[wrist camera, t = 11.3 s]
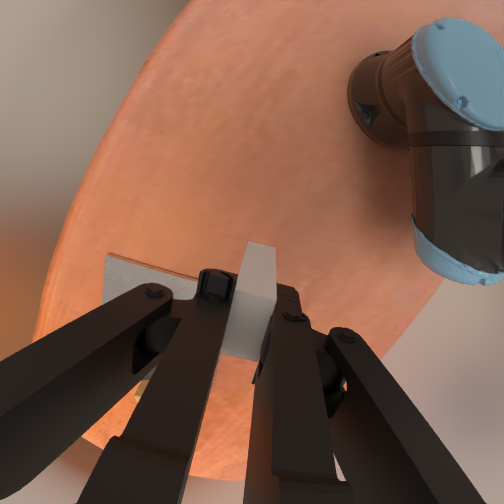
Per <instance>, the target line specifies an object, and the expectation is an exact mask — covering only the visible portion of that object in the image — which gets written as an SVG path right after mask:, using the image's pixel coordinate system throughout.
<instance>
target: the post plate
mask: <svg viewBox="0 0 504 504" xmlns="http://www.w3.org/2000/svg"><path fill="white" fill-rule="evenodd" d="M144 283H159V284H161V285H164V286H166V287H168V288H170V289H171V290H172V292H173V299H179V300H189V299H193V297H194V295H195V294H196V290H197V284H198V279H196V278H192V277H189V276H185V275H181V274H178V273H174V272H171V271H168V270H164V269H161V268H157V267H154V266H150V265H147V264H144V263H140V262H137V261H134V260H130V259H127V258H124V257H120V256H117V255H114V254H111V253H108V254H107V255H106V260H105V270H104V283H103V298H102V305H103V304H105V303H107V302H109V301H110V300H112V299H114V298H116V297H118V296H120V295H122V294H123V293H125V292H127V291H129V290H131V289H133V288H135V287H137V286H139V285H141V284H144ZM220 354H221V353H220ZM220 354H219V358H220ZM218 362H219V359H218ZM217 365H218V363H217ZM216 369H217V366H216ZM215 373H216V370H215ZM214 376H215V374H214ZM213 380H214V378H213ZM212 384H213V382H212ZM211 387H212V386H211ZM210 391H211V389H210ZM209 395H210V393H209Z"/></svg>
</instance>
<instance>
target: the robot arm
mask: <svg viewBox="0 0 504 504" xmlns="http://www.w3.org/2000/svg"><path fill="white" fill-rule="evenodd" d="M348 102H349V106H350V109H351V112H352V114H353V117H354V119H355V120H356V122H357V123H358V125H359V126H360V128H361V129H362V130H363V131H364V132H365V133H366V134H367V135H368V136H369V137H370V138H372V139H373V140H375V141H376V142H378V143H380V144H382V145H384V146H387V147H391V148H397V149H405V148H409V155H410V167H411V181H412V202H413V214H412V225H413V227H414V245H415V250H416V253H417V255H418V256H419V258H420V259H421V261H422V263H423V264H424V265H425V266H427V267H428V268H429V269H430V270H432V271H433V272H435V273H436V274H438V275H440V276H442V277H445V278H447V279H449V280H452V281H455V282H458V283H462V284H468V285H476V284H477V283H479V284H482V285H484V286H486V285H493V284H496V283H497V282H500V281H501V280H502V279H503V278H504V49H503V47H502V46H501V45H500V44H498V43H497V42H496V41H495V40H494V39H493V37H492V36H491V35H490V34H489V33H488V32H486V31H485V30H484V29H482V28H481V27H479V26H477V25H476V24H474V23H472V22H469V21H467V20H464V19H460V18H453V17H448V18H441V19H438V20H436V21H434V22H432V23H430V24H428V25H427V26H423V27H421V28H420V29H418V30H417V31H416V32H415V34H414V35H413V36H411V37H410V38H409V39H408V40H406V41H405V42H404V43H403V44H402V45H400V46H399V47H398V48H397V49H396V50H394V51H381V52H377V53H374V54H372V55H370V56H368V57H367V58H365V59H364V60H363V61H362V62H361V63H360V64H359V65H358V66H357V67H356V68H355V69H354V71H353V73H352V75H351V77H350V80H349V84H348ZM220 353H223V354H227V355H231V356H235V357H239V358H244V359H248V360H252V361H257V362H258V358H259V355H260V359H259V363H258V366H257V369H256V372H255V375H254V378H253V381H252V384H255V390H254V400H253V410H252V421H251V431H250V441H249V451H248V460H247V470H246V479H245V489H244V498H243V504H486V503H485V502H484V500H483V499H482V497H481V496H480V495H479V493H478V491H477V490H476V489H475V487H474V486H473V484H472V483H471V481H470V480H469V479H468V477H467V476H466V474H465V473H464V472H463V470H462V469H461V467H460V466H459V465H458V463H457V462H456V461H455V459H454V458H453V456H452V455H451V454H450V452H449V451H448V450H447V448H446V447H445V445H444V444H443V443H442V442H441V440H440V439H439V437H438V436H437V434H436V433H435V432H434V431H433V429H432V428H431V427H430V425H429V424H428V422H427V421H426V420H425V419H424V417H423V416H422V414H421V413H420V412H419V411H418V409H417V408H416V407H415V405H414V404H413V403H412V401H411V400H410V399H409V397H408V396H407V395H406V393H405V392H404V391H403V389H402V388H401V387H400V386H399V384H398V383H397V382H396V380H395V379H394V378H393V376H392V375H391V374H390V373H389V371H388V370H387V369H386V368H385V366H384V365H383V364H382V362H381V361H380V360H379V359H378V357H377V356H376V355H375V353H374V352H373V351H372V350H371V348H370V347H369V346H368V345H367V343H366V342H365V341H364V340H363V338H362V337H361V336H360V335H359V334H357V333H356V332H354V331H353V330H351V329H348V328H342V327H334V328H332V329H331V330H330V332H329V334H328V335H325V334H323V333H320V332H318V331H316V330H314V329H312V328H311V324H310V320H309V318H308V316H306V315H305V314H304V313H302V310H301V304H300V299H299V293H298V292H297V291H296V290H295V288H294V287H290V286H286V285H282V284H278V283H276V248H275V247H271V246H267V245H263V244H259V243H255V242H251V241H248V244H247V247H246V251H245V254H244V257H243V261H242V264H241V268H240V271H239V275H238V274H234V273H230V272H226V271H223V270H218V269H204V270H202V271H200V274H199V279H198V284H197V290H196V294H195V295H194V297H193V299H189V300H179V299H173V292H172V290H171V289H170V288H168V287H166V286H164V285H161V284H159V283H144V284H141V285H139V286H137V287H135V288H133V289H131V290H129V291H127V292H125V293H123V294H122V295H120V296H118V297H116V298H114V299H112V300H110V301H109V302H107V303H105V304H103V305H101V306H99V307H97V308H96V309H94V310H92V311H90V312H88V313H86V314H85V315H83V316H81V317H79V318H77V319H75V320H74V321H72V322H70V323H68V324H66V325H64V326H63V327H61V328H59V329H57V330H55V331H54V332H52V333H50V334H48V335H46V336H45V337H43V338H41V339H39V340H38V341H36V342H34V343H32V344H30V345H29V346H27V347H25V348H23V349H22V350H20V351H18V352H16V353H14V354H13V355H11V356H9V357H7V358H6V359H4V360H3V361H1V362H0V500H2V499H5V498H6V497H8V496H10V495H12V494H13V493H15V492H17V491H19V490H20V489H22V488H23V487H24V486H25V485H27V484H28V483H29V482H31V481H32V480H33V479H34V478H35V477H36V476H37V475H39V473H41V472H42V471H43V470H44V469H45V468H46V467H47V466H49V465H50V464H51V463H52V462H53V461H54V460H55V459H56V458H57V457H59V456H60V455H61V454H62V453H63V452H64V451H65V450H66V449H67V448H68V447H69V446H70V445H72V444H73V443H74V442H75V441H76V440H77V439H78V438H79V437H80V436H82V435H83V434H84V433H85V432H86V431H87V430H88V429H89V428H90V427H91V426H92V425H94V424H95V423H96V422H97V421H98V420H99V419H100V418H101V417H102V416H103V415H104V414H105V413H107V412H108V411H109V410H110V409H111V408H112V407H113V406H114V405H115V404H116V403H117V402H118V401H119V400H120V399H122V398H123V397H124V396H125V395H126V394H127V393H128V392H129V391H130V390H131V389H132V388H133V387H134V386H135V385H137V384H138V383H139V382H140V381H141V380H142V379H143V378H144V377H145V376H146V375H147V374H148V373H149V372H150V371H151V370H152V369H154V368H155V367H156V366H157V367H156V369H155V371H154V372H153V374H152V376H151V378H150V380H149V382H148V384H147V386H146V388H145V390H144V392H143V394H142V396H141V398H140V400H139V402H138V404H137V406H136V408H135V410H134V411H133V413H132V415H131V417H130V419H129V421H128V423H127V425H126V427H125V429H124V431H123V433H122V435H121V436H120V437H117V436H113V437H112V438H110V440H109V441H108V443H107V445H106V446H105V448H104V450H103V452H102V454H101V456H100V458H99V460H98V462H97V464H96V465H95V468H94V469H93V471H92V473H91V475H90V477H89V479H88V482H87V483H86V485H85V487H84V489H83V491H82V493H81V495H80V497H79V499H78V501H77V503H76V504H181V502H182V498H183V494H184V490H185V486H186V482H187V478H188V474H189V471H190V467H191V463H192V459H193V455H194V451H195V447H196V443H197V439H198V436H199V432H200V428H201V424H202V420H203V416H204V412H205V409H206V405H207V401H208V397H209V393H210V389H211V386H212V382H213V378H214V374H215V370H216V366H217V363H218V359H219V354H220ZM345 382H347V391H345V389H344V387H343V385H344V384H345ZM333 453H334V455H335V457H336V459H337V462H338V464H339V466H340V468H341V471H342V473H343V475H344V477H345V479H346V481H339V479H338V478H337V474H336V468H335V461H334V455H333Z"/></svg>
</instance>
